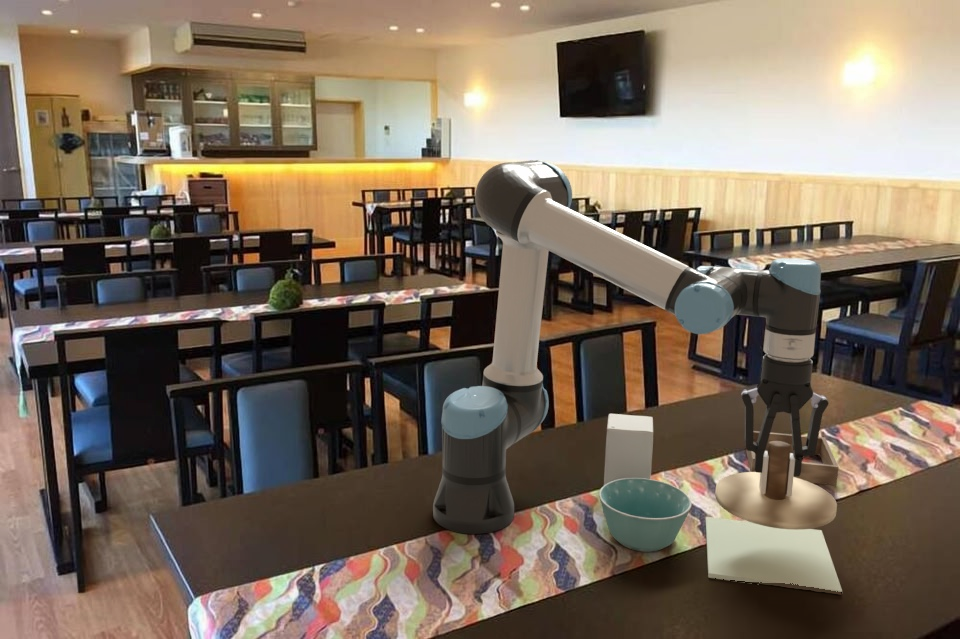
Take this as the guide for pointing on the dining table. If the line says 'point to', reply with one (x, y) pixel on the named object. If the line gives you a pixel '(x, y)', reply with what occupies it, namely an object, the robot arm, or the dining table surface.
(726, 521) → the mat
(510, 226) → the robot arm
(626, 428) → the supplement box
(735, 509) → the lid
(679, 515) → the bowl
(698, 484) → the dining table surface
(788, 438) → the holder corral
